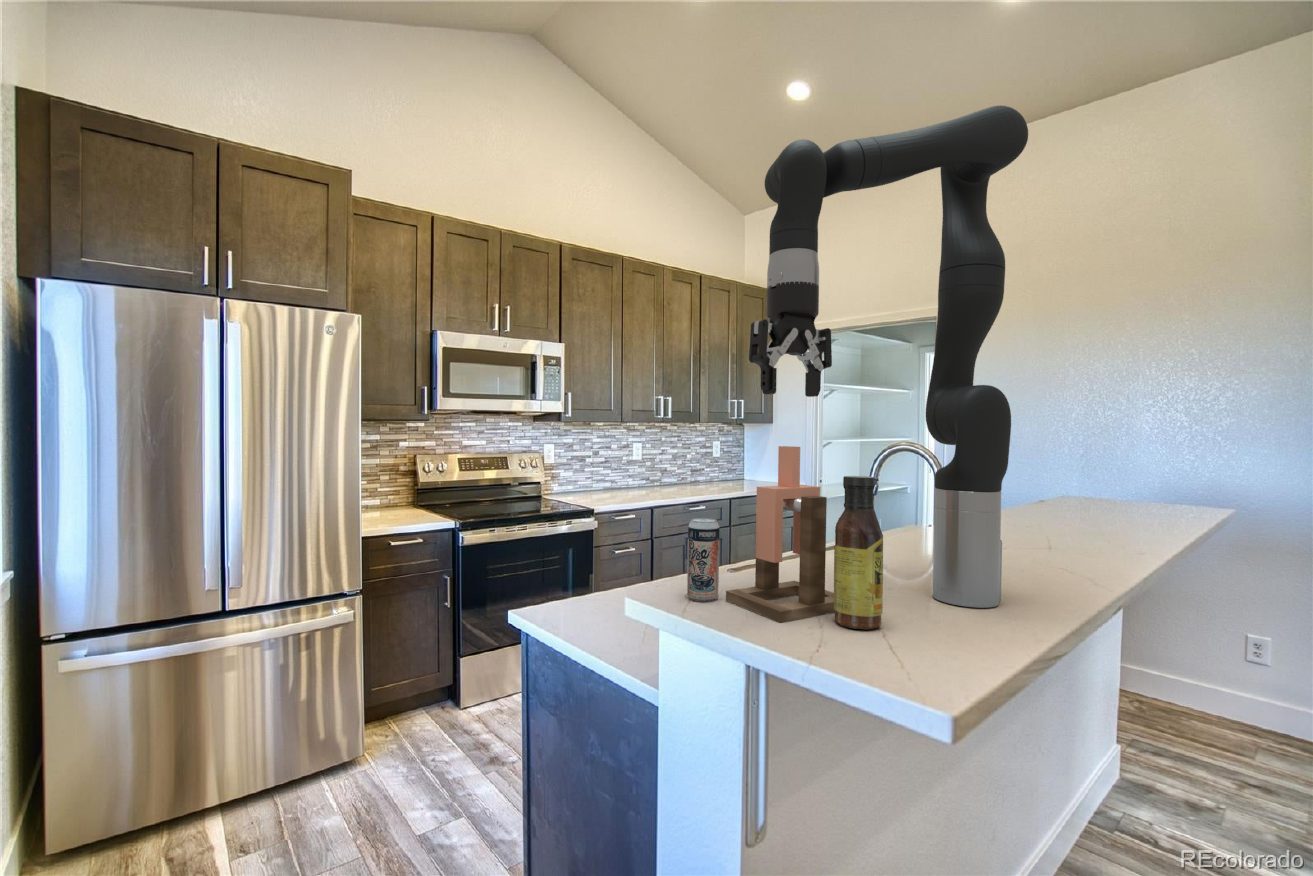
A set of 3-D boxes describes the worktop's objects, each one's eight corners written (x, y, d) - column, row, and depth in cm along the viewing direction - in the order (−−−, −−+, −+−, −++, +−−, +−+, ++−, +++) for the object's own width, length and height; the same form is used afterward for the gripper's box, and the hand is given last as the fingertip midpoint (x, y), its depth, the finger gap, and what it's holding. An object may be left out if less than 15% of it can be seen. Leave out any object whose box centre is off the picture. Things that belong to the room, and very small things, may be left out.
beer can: (685, 601, 90) (686, 521, 90) (688, 593, 95) (690, 517, 95) (717, 603, 89) (718, 522, 89) (719, 595, 94) (720, 518, 94)
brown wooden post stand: (794, 589, 98) (796, 488, 98) (852, 608, 88) (854, 495, 88) (725, 600, 91) (727, 491, 91) (780, 622, 80) (782, 499, 80)
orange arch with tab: (799, 552, 94) (801, 446, 93) (819, 556, 90) (820, 446, 90) (755, 557, 89) (757, 446, 89) (774, 562, 85) (776, 446, 85)
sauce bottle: (886, 633, 77) (889, 478, 77) (835, 629, 78) (838, 477, 78) (877, 618, 83) (880, 475, 83) (831, 615, 85) (833, 473, 84)
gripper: (809, 296, 96) (807, 398, 96) (738, 284, 88) (737, 394, 89) (846, 287, 89) (844, 396, 89) (773, 272, 82) (771, 391, 82)
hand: (791, 395), depth 89 cm, fingers open, 8 cm apart
